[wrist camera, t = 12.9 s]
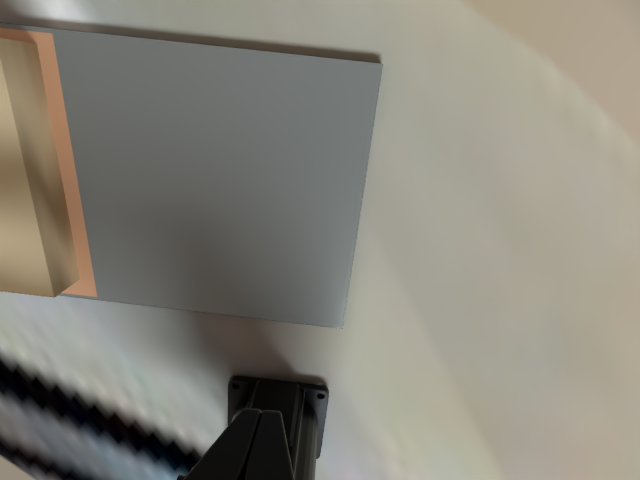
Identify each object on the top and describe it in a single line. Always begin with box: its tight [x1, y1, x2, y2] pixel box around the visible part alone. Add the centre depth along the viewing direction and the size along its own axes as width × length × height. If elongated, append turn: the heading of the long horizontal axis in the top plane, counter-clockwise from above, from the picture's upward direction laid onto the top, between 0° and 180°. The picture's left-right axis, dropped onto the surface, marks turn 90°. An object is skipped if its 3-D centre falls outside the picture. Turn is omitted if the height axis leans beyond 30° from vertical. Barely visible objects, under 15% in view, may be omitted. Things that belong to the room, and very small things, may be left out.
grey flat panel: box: [0, 23, 383, 329], centre depth 18 cm, size 14×30×1 cm, turn 84°
